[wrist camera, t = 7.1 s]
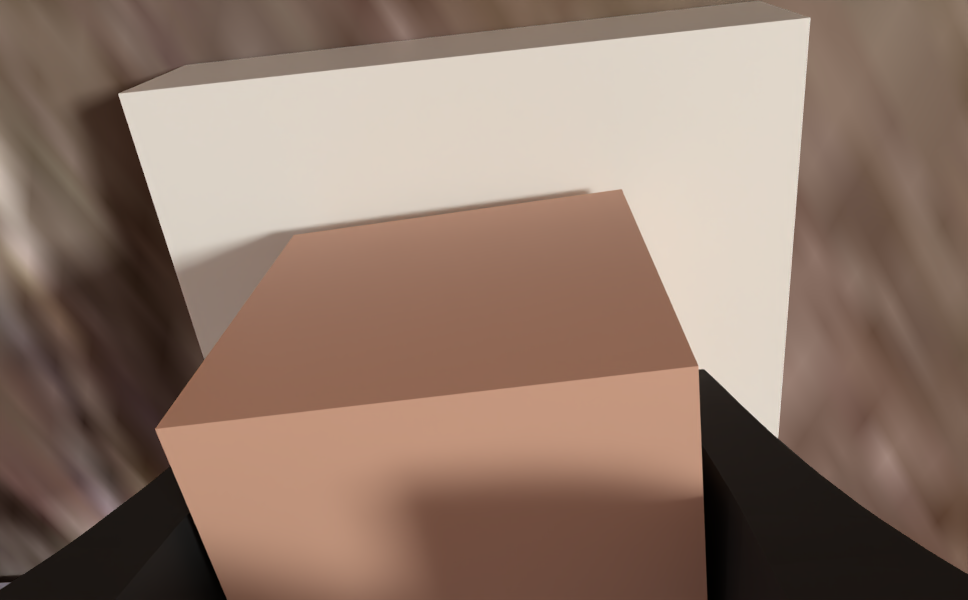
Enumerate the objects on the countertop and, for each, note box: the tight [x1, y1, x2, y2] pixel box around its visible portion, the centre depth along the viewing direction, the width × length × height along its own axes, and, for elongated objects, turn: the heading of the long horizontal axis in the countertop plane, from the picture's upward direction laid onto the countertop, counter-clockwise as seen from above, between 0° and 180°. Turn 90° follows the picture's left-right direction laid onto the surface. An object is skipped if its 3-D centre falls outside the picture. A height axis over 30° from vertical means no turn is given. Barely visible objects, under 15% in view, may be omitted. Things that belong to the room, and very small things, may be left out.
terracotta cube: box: [155, 189, 707, 600], centre depth 10 cm, size 5×5×5 cm
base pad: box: [118, 1, 810, 438], centre depth 14 cm, size 10×10×2 cm
